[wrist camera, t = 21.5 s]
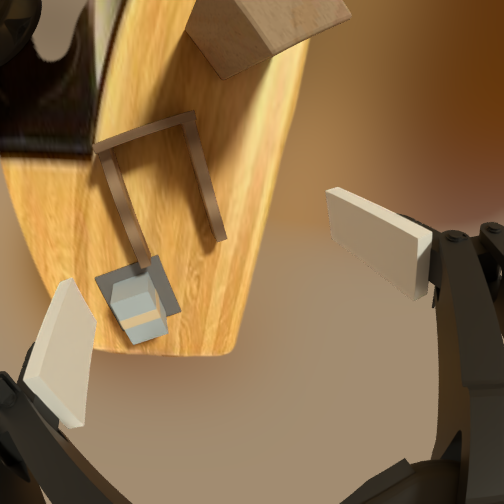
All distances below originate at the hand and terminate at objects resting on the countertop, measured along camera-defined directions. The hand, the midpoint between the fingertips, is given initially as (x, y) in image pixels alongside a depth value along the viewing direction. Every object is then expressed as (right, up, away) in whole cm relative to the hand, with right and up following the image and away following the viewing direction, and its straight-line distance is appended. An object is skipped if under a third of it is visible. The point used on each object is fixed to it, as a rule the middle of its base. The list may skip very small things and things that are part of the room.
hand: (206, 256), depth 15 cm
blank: (-16, -7, +34) cm, 38 cm away
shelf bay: (-11, +9, +29) cm, 32 cm away
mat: (-16, -7, +34) cm, 38 cm away
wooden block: (-1, +31, +23) cm, 38 cm away
